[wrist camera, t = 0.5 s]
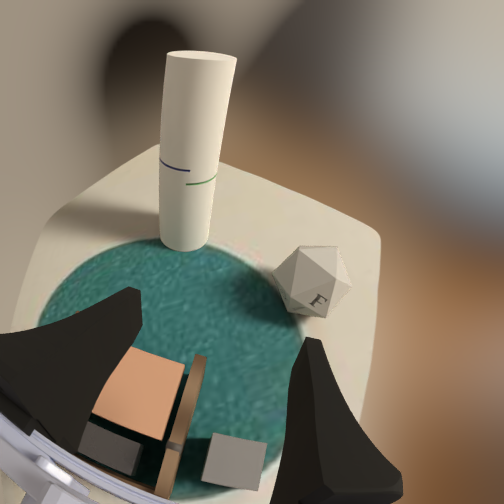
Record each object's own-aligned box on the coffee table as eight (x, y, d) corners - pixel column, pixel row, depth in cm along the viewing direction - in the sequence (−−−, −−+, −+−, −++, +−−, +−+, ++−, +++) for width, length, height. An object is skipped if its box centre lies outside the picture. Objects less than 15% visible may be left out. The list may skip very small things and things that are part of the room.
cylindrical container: (166, 214, 43) (178, 49, 26) (211, 222, 44) (239, 56, 27) (153, 246, 38) (157, 56, 21) (204, 255, 39) (233, 63, 22)
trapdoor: (152, 481, 17) (148, 482, 15) (50, 433, 16) (38, 428, 15) (184, 374, 24) (184, 364, 23) (91, 339, 24) (84, 327, 22)
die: (252, 294, 37) (285, 297, 28) (283, 236, 39) (323, 221, 30) (303, 324, 39) (346, 333, 29) (329, 268, 41) (375, 262, 32)
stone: (247, 488, 20) (257, 491, 17) (199, 479, 20) (201, 480, 17) (255, 448, 23) (267, 443, 20) (210, 438, 23) (213, 432, 20)
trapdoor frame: (170, 501, 17) (165, 509, 13) (44, 444, 17) (17, 435, 13) (204, 377, 27) (207, 357, 23) (90, 336, 27) (75, 309, 23)
